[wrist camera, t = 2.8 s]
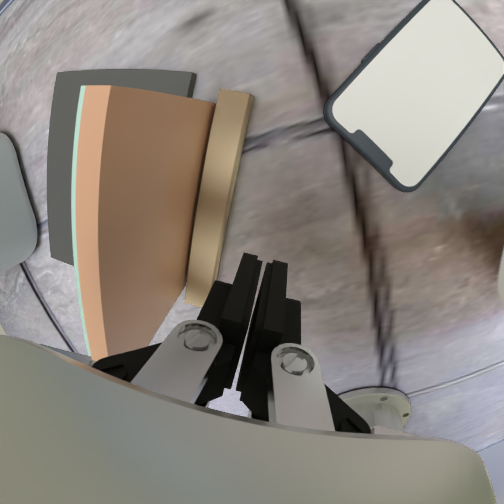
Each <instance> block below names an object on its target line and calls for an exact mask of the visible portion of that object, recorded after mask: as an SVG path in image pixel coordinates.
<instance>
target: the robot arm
mask: <svg viewBox="0 0 504 504" xmlns="http://www.w3.org/2000/svg"><path fill="white" fill-rule="evenodd" d="M257 258H258V256H256V255H252V254H248V253H244V254H243V256H242V259H241V262H240V265H239V268H238V271H237V273H236V276H235V279H234V282H233V284H229V283H225V282H221V281H217V280H215V281H214V283H213V285H212V287H211V289H210V292H209V294H208V296H207V298H206V300H205V303H204V305H203V307H202V309H201V311H200V314H199V316H198V318H197V320H187V321H184V322H181V323H179V324H178V325H177V326H176V327H175V328H174V329H173V330H172V331H171V332H170V334H169V335H168V336H167V337H166V339H165V340H164V341H163V342H162V343H159V344H155V345H151V346H147V347H144V348H140V349H136V350H132V351H128V352H124V353H120V354H116V355H112V356H108V357H105V358H102V359H99V360H98V361H94V360H92V357H91V356H87V355H82V354H78V353H74V352H69V351H65V350H61V349H57V348H54V347H50V346H46V345H43V344H37V343H34V342H32V341H28V340H25V339H21V338H18V337H13V336H6V335H0V504H496V500H495V495H494V491H493V487H492V483H491V480H490V477H489V474H488V471H487V469H486V466H485V464H484V462H483V460H482V458H481V457H480V455H479V454H478V453H477V452H476V451H475V450H473V449H471V448H470V447H468V446H466V445H464V444H461V443H458V442H455V441H452V440H447V439H442V438H436V437H426V436H418V435H414V434H409V433H405V432H404V431H403V427H404V426H405V425H406V424H407V423H408V421H409V419H410V417H411V413H412V408H411V404H410V401H409V399H408V398H407V396H406V395H405V394H403V393H401V392H400V391H397V390H394V389H389V388H365V389H359V390H354V391H350V392H347V393H344V394H341V395H339V396H337V395H336V394H335V393H334V392H333V391H332V390H331V389H330V388H329V387H327V386H326V385H325V384H324V380H323V376H322V372H321V368H320V364H319V361H318V359H317V357H316V355H315V354H314V353H313V352H312V351H311V350H309V349H308V348H306V347H304V346H302V345H301V303H300V301H297V300H293V299H289V298H286V286H287V267H288V263H284V262H280V261H276V260H273V263H268V262H267V264H266V268H265V271H264V275H263V279H262V282H261V286H260V290H259V293H258V297H257V301H256V304H255V308H254V311H253V315H252V319H251V323H250V327H249V331H248V336H247V341H246V345H245V350H244V354H243V359H242V364H241V368H240V373H239V377H238V382H237V386H236V391H240V392H241V396H240V401H242V402H243V403H244V404H245V405H246V406H247V407H248V409H249V412H248V417H243V416H239V415H234V414H230V413H226V412H222V411H218V410H214V409H210V408H208V407H209V403H210V401H211V400H213V399H216V398H218V397H221V396H222V395H223V391H224V388H228V389H231V386H232V383H233V379H234V376H235V372H236V369H237V365H238V362H239V358H240V355H241V351H242V348H243V344H244V340H245V337H246V333H247V330H248V326H249V322H250V317H251V313H252V308H253V303H254V299H255V294H256V290H257V285H258V280H259V276H260V271H261V266H262V262H263V261H260V260H257Z"/></svg>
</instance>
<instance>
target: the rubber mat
mask: <svg viewBox="0 0 504 504" xmlns="http://www.w3.org/2000/svg"><path fill="white" fill-rule="evenodd" d="M195 79H196V74H194V73H192V72H181V71H167V70H146V69H102V70H82V71H69V72H58V73H57V76H56V82H55V87H54V94H53V101H52V108H51V117H50V127H49V139H48V156H47V212H48V229H49V241H50V252H51V257H52V258H54V259H57V260H60V261H62V262H65V263H67V264H70V265H73V266H74V257H73V242H72V217H71V185H72V160H73V146H74V135H75V125H76V117H77V109H78V102H79V95H80V89H81V86H86V85H112V86H120V87H128V88H136V89H143V90H149V91H155V92H161V93H167V94H172V95H178V96H183V97H188V98H192V93H193V88H194V84H195Z"/></svg>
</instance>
